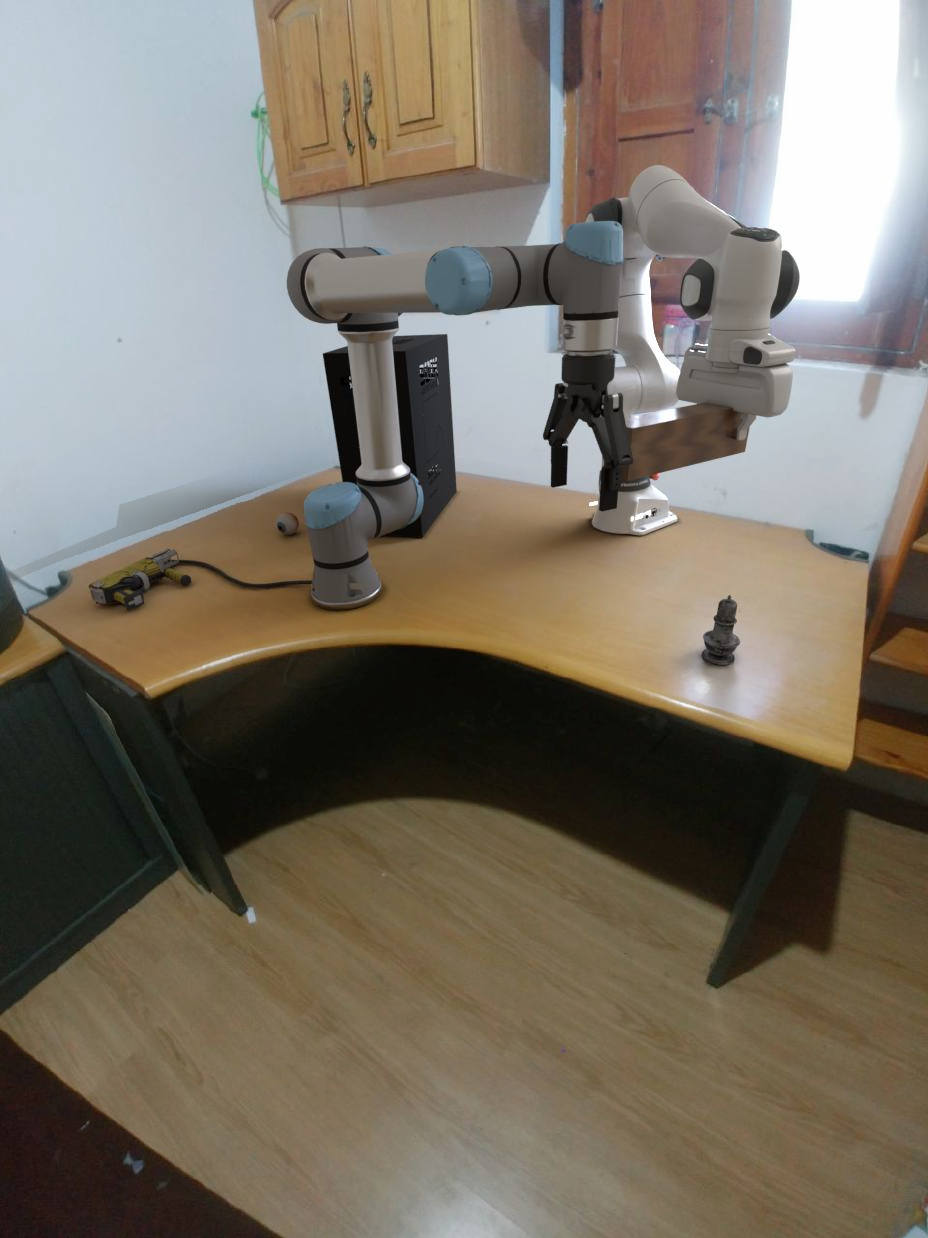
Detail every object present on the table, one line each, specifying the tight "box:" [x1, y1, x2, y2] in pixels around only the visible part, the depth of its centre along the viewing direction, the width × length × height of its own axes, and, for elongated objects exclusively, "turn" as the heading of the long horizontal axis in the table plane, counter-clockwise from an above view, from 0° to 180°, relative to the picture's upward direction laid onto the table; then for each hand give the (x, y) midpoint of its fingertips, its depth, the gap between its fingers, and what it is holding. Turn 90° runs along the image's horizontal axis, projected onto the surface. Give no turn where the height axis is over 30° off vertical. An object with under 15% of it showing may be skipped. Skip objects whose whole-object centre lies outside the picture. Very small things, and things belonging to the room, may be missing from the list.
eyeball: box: [275, 511, 300, 536], centre depth 163 cm, size 6×6×6 cm
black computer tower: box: [322, 333, 458, 538], centre depth 165 cm, size 38×20×45 cm, turn 167°
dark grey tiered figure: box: [701, 594, 741, 666], centre depth 101 cm, size 6×6×12 cm
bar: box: [604, 402, 751, 481], centre depth 99 cm, size 26×6×8 cm, turn 119°
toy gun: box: [88, 547, 192, 612], centre depth 139 cm, size 5×24×15 cm
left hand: (581, 497), depth 96 cm, fingers open, 13 cm apart
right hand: (721, 435), depth 104 cm, fingers closed on bar, 6 cm apart
